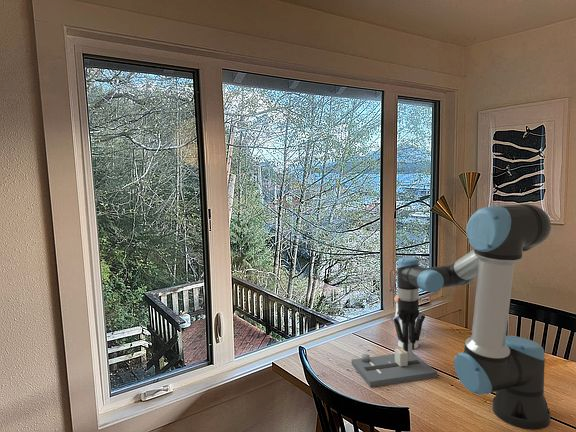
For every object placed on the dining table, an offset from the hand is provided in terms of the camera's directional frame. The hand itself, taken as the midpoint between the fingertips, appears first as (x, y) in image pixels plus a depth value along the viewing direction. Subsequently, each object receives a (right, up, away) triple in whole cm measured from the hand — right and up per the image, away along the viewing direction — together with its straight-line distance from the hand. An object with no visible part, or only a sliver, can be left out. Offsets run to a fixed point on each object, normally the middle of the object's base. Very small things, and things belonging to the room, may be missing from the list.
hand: (408, 358), depth 153 cm
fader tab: (-3, -2, -1) cm, 4 cm away
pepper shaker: (+7, -1, +34) cm, 35 cm away
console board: (-7, -4, -1) cm, 8 cm away
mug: (+7, -2, +20) cm, 21 cm away
